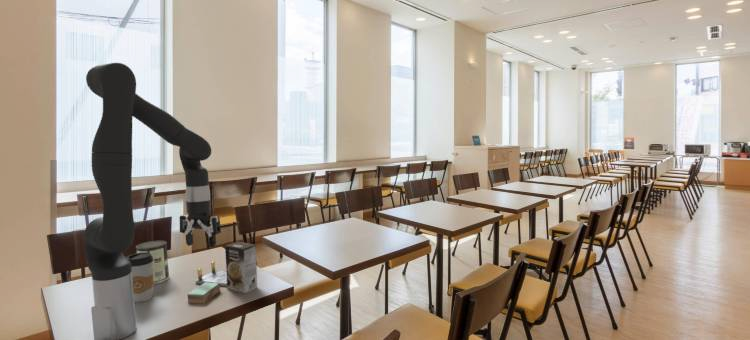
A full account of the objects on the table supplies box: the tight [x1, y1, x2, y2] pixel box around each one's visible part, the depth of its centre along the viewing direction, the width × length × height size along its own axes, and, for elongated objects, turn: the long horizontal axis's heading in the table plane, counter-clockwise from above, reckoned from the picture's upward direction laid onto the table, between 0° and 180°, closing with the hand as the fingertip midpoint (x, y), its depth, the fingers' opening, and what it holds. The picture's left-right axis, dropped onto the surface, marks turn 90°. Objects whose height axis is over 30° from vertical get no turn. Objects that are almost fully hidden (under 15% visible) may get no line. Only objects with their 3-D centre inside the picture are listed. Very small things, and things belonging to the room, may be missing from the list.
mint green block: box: [187, 282, 221, 304], centre depth 135 cm, size 10×6×3 cm, turn 171°
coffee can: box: [135, 240, 170, 285], centre depth 150 cm, size 10×10×14 cm
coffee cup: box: [125, 252, 154, 303], centre depth 134 cm, size 8×8×15 cm
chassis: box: [195, 260, 227, 287], centre depth 150 cm, size 11×14×5 cm
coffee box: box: [224, 241, 258, 294], centre depth 141 cm, size 9×6×16 cm
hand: (201, 245), depth 134 cm, fingers open, 8 cm apart
